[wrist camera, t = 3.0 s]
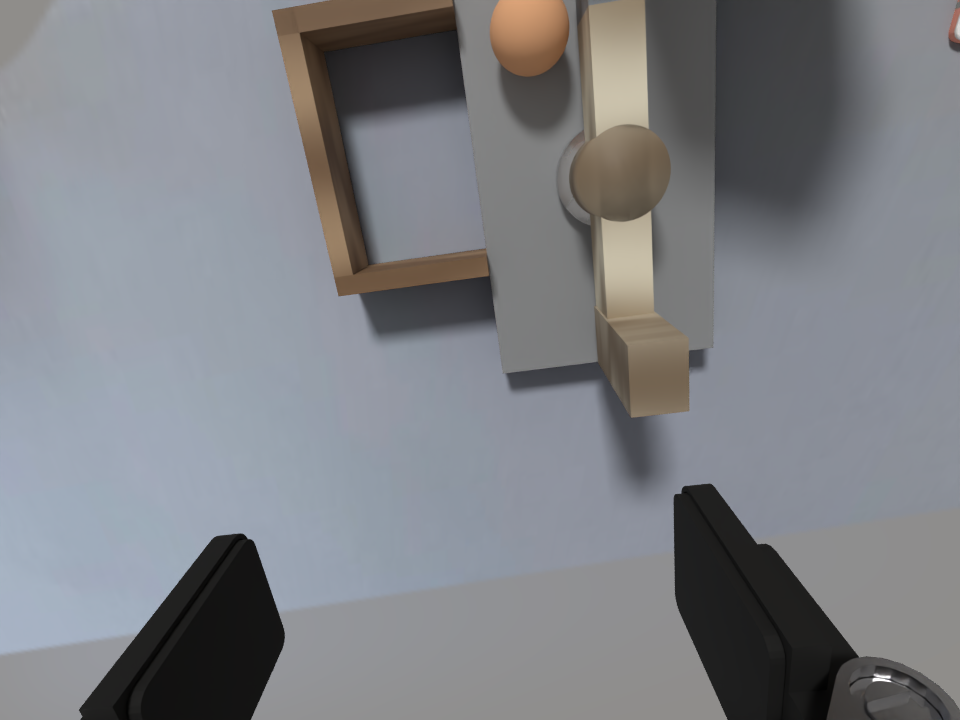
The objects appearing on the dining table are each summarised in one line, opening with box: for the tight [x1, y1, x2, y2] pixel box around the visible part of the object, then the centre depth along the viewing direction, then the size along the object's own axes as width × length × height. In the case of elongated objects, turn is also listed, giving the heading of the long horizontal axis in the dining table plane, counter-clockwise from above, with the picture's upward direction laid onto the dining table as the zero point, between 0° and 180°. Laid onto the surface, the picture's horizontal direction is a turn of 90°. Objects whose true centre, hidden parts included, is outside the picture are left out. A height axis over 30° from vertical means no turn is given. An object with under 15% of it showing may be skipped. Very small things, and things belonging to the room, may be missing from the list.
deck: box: [453, 0, 716, 373], centre depth 27 cm, size 20×12×2 cm, turn 8°
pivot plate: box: [556, 130, 591, 226], centre depth 25 cm, size 5×5×1 cm
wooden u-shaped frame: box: [272, 0, 489, 296], centre depth 26 cm, size 13×8×4 cm, turn 8°
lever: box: [569, 0, 689, 418], centre depth 22 cm, size 18×4×7 cm, turn 8°
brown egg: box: [490, 0, 569, 77], centre depth 22 cm, size 4×4×4 cm
